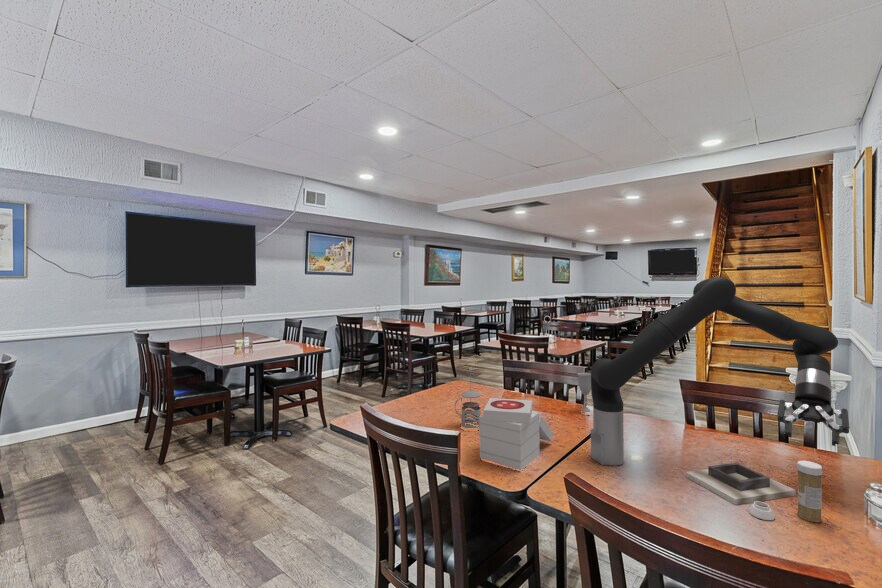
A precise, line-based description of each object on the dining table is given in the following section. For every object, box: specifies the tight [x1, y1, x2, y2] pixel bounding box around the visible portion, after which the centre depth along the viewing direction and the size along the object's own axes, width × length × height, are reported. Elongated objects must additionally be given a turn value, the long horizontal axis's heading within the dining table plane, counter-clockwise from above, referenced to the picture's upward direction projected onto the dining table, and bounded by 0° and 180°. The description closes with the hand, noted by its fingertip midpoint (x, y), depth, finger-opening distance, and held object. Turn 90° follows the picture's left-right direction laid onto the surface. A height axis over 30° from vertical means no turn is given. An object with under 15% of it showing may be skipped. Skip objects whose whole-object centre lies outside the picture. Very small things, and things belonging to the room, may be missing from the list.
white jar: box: [748, 501, 776, 521], centre depth 100 cm, size 5×3×5 cm
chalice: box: [577, 372, 591, 412], centre depth 181 cm, size 7×7×18 cm
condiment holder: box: [685, 462, 797, 506], centre depth 115 cm, size 20×16×4 cm
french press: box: [454, 366, 481, 428], centre depth 165 cm, size 10×12×25 cm
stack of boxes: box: [478, 397, 554, 470], centre depth 140 cm, size 19×30×18 cm, turn 144°
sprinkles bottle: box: [796, 460, 823, 523], centre depth 98 cm, size 5×5×14 cm
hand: (811, 440), depth 106 cm, fingers open, 8 cm apart
